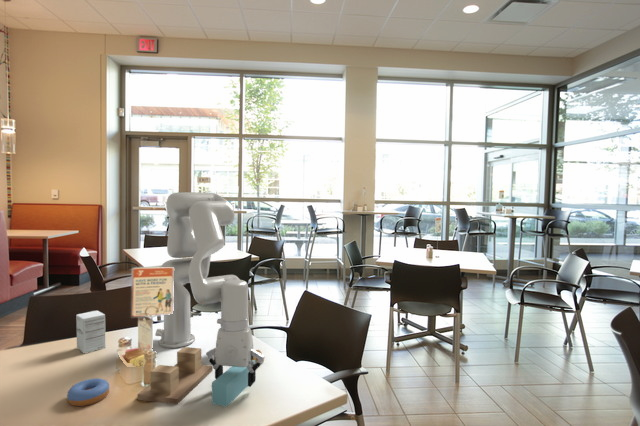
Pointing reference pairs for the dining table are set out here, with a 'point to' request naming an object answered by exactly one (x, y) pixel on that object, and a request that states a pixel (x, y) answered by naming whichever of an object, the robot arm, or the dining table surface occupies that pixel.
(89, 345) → the supplement box
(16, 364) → the dining table surface
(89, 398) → the doughnut
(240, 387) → the pale blue rectangular prism
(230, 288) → the robot arm
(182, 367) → the display stand
